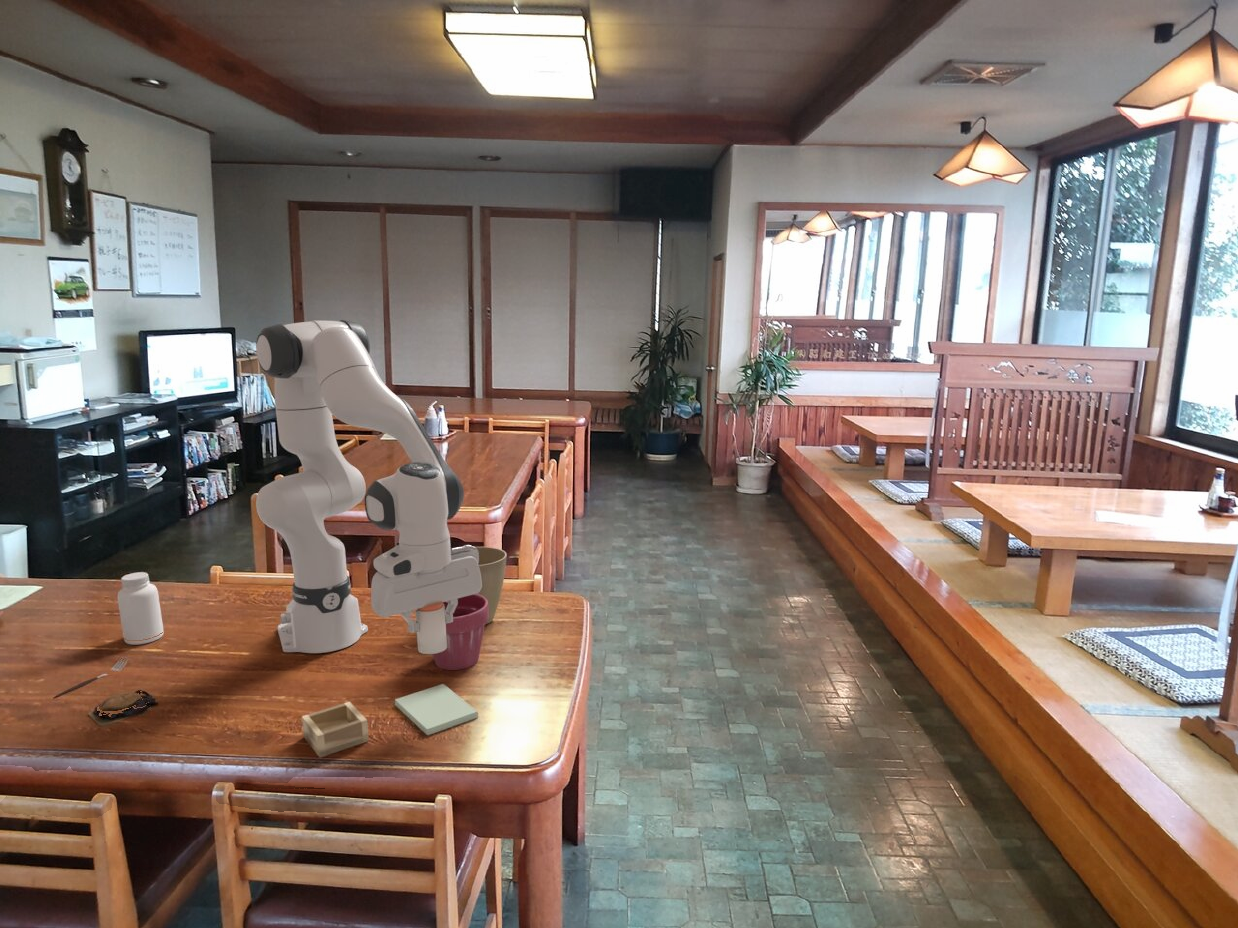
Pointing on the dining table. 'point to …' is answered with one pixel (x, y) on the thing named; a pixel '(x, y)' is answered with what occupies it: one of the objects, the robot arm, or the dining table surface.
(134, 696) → the sandwich
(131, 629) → the pill bottle
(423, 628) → the shaker
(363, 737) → the holder
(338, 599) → the robot arm
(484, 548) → the plant pot
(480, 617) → the plant pot
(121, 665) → the fork
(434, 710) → the pale green flat slab
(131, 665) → the dining table surface
